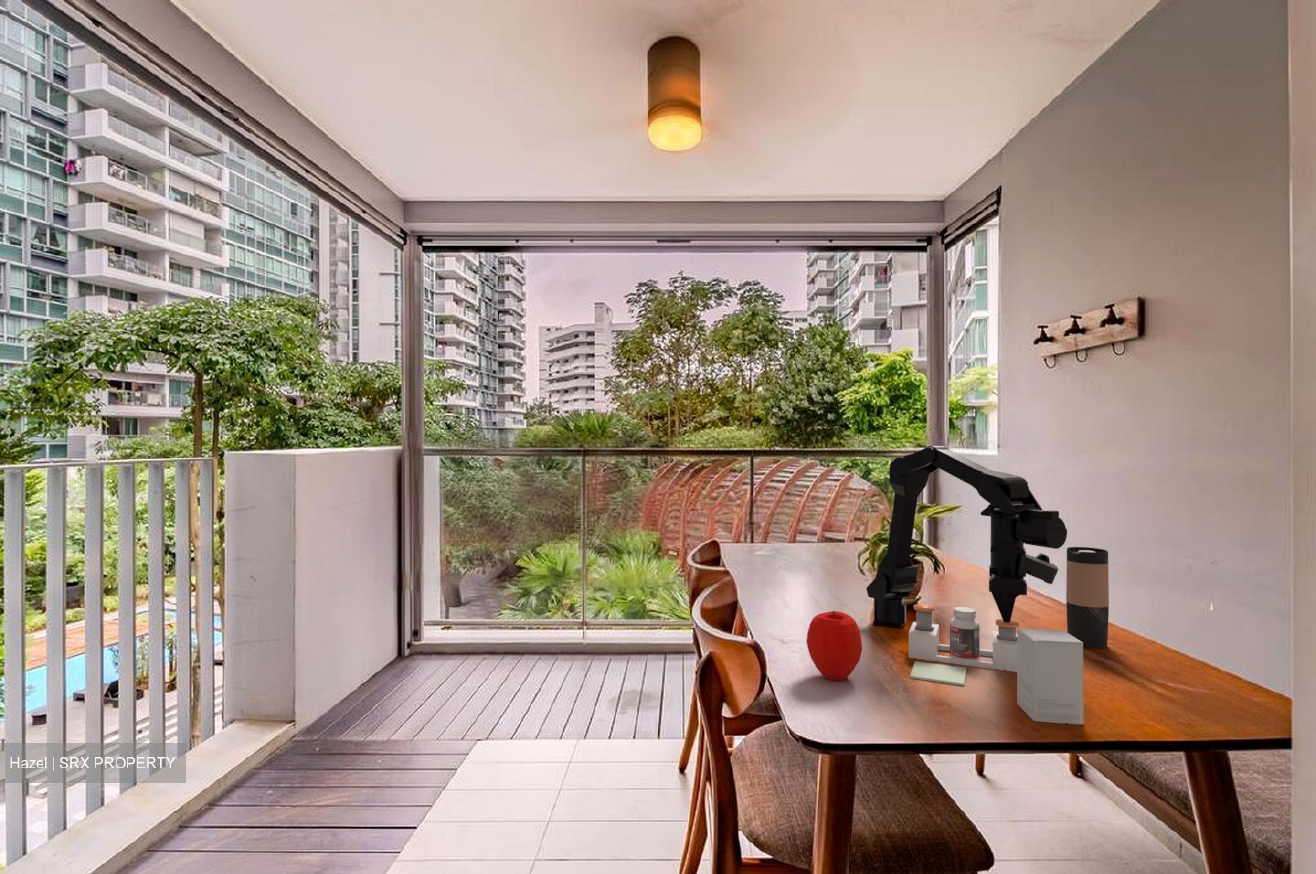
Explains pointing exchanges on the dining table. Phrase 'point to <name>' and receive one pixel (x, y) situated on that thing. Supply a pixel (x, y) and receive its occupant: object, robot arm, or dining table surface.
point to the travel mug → (1087, 596)
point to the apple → (834, 644)
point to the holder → (928, 647)
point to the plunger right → (1007, 630)
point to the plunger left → (924, 617)
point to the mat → (938, 673)
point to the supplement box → (1050, 675)
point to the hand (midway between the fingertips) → (1006, 621)
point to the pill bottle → (964, 634)
